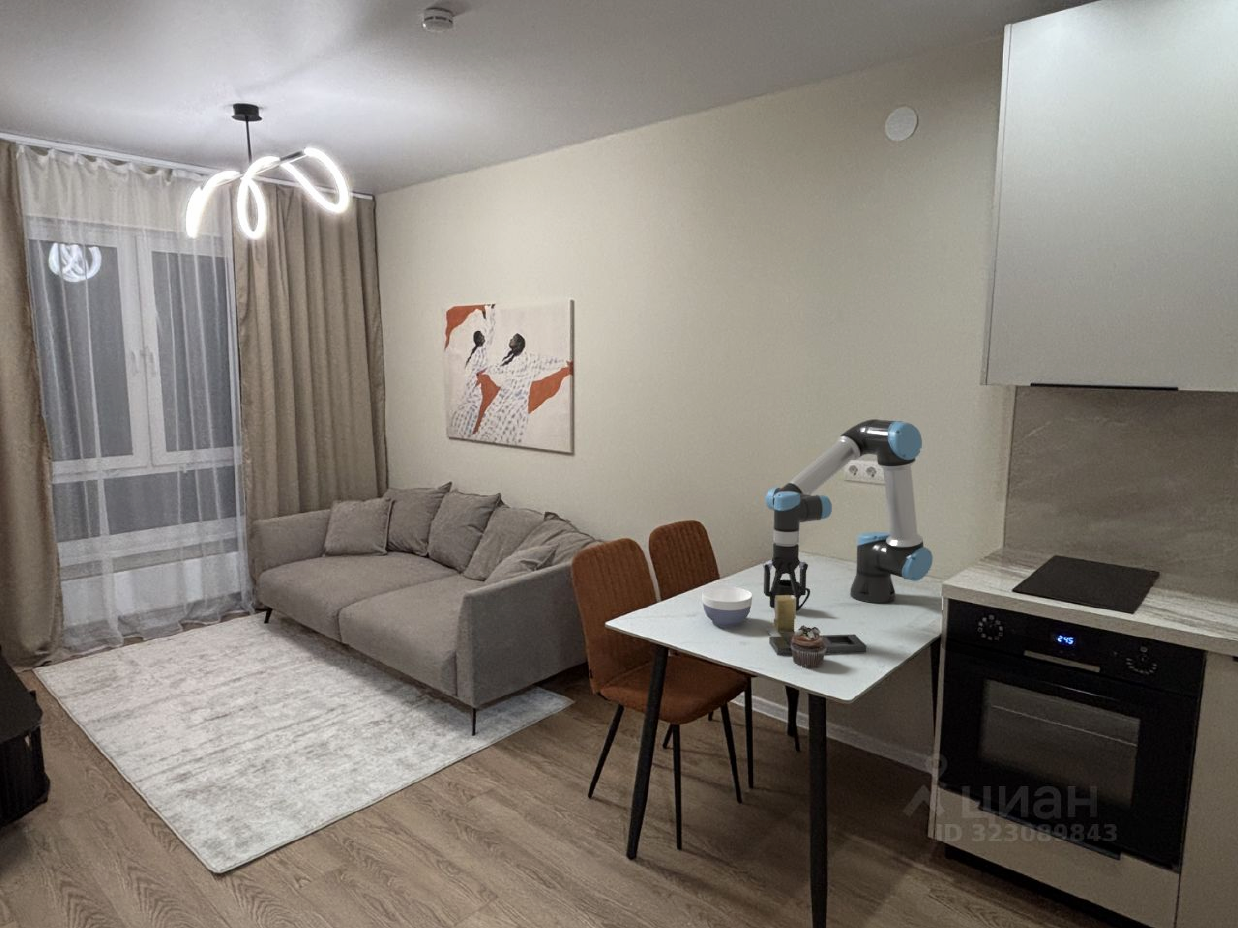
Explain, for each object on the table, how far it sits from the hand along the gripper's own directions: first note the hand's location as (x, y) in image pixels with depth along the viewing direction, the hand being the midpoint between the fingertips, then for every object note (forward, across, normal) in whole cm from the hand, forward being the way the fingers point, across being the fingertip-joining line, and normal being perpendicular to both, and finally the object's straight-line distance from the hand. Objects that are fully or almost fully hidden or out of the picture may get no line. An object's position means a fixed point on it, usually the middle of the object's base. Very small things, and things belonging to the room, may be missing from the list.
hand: (784, 617), depth 230 cm
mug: (+6, -9, -22) cm, 24 cm away
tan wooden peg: (+4, 0, 0) cm, 4 cm away
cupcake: (+6, -1, +21) cm, 22 cm away
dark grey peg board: (+6, -7, +10) cm, 14 cm away
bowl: (+6, +15, -12) cm, 20 cm away
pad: (+6, 0, 0) cm, 6 cm away
